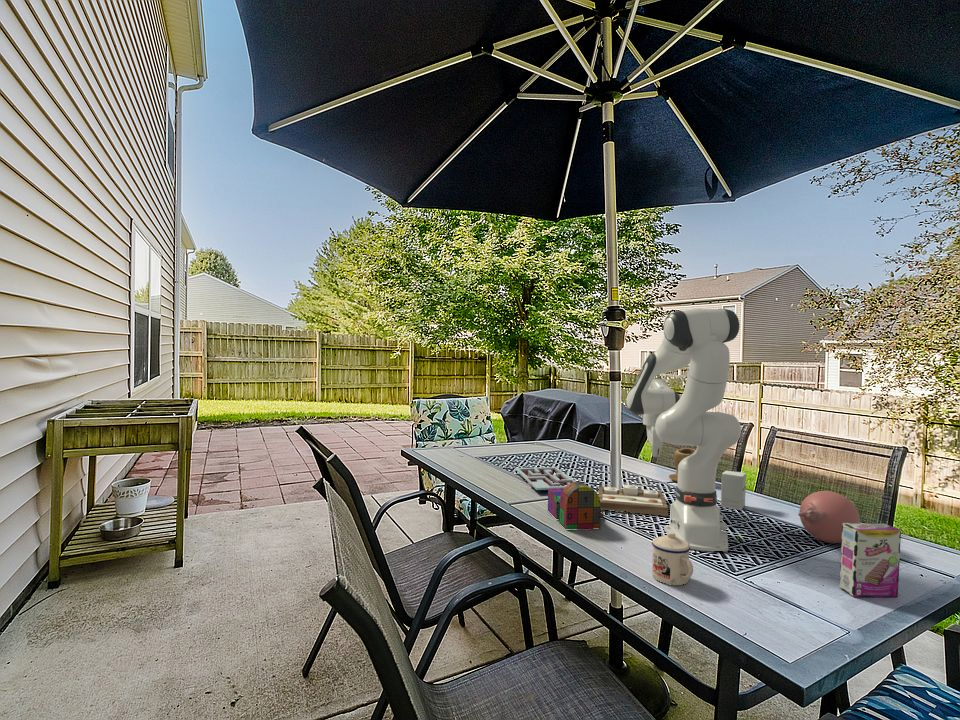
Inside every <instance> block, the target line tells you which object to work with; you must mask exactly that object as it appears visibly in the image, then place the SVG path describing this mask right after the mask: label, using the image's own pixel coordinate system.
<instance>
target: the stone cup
mask: <svg viewBox="0 0 960 720" xmlns="http://www.w3.org/2000/svg"><path fill="white" fill-rule="evenodd" d="M695 451H696V449H695V448H690V447H682V448H678V449H676V450H675V452H674V455H673V456H674V457H673V458H674V459H673V461H674V465H675V470H676V472H675V473H672V474H669V475H668V478H669V479H670V480H672V481H674V482H677V483H678V465H679V463H680V462H681V460H682V459H684V458H686V457H688V456H690V455H692V454H693V453H694V452H695Z"/></svg>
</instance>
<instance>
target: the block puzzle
mask: <svg viewBox="0 0 960 720" xmlns="http://www.w3.org/2000/svg"><path fill="white" fill-rule="evenodd" d="M548 511H549V512H550V513H551V514H552V515H553V516H554V517H555V518H556V519H559V525H560V524H561V525H562V526H563V527H564V528H565V529H588V530H594V529H593V528H600V529H601V519H600V518H603V517H604V514H603V512H602V511H600V498H599V493H597V492H596V491H595V490H594V489H593V488H592V487H590V486H589V485H587V484H586V483H584V482H580V481H576V482H573V483H570V484H568V485H567V486H566V487H565V488H561V489H548V491H547V512H548ZM549 512H548V513H549ZM550 513H549V514H550ZM551 514H550V515H551ZM552 515H551V516H552ZM604 518H605V517H604ZM604 518H603V519H604ZM561 525H560V526H561ZM562 526H561V527H562ZM563 527H562V528H563ZM564 528H563V529H564ZM565 529H564V530H565Z"/></svg>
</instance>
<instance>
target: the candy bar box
mask: <svg viewBox="0 0 960 720" xmlns="http://www.w3.org/2000/svg"><path fill="white" fill-rule="evenodd" d="M901 535H902V530H900V528H897V527H894V526H891V525H889V524H886V523H866V522H865V523H861V522H860V523H842V541H841V543H840V544H841V546H840V569H839V571H840V572H839V589H840V590H842V591H844V592H845V593H847V594H848V595H849V596H852V597H853V598H898V596H899V583H900V582H899V580H900V579H899V577H900V573H899V572H900V557H901V540H902V536H901Z"/></svg>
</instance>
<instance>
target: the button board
mask: <svg viewBox="0 0 960 720" xmlns="http://www.w3.org/2000/svg"><path fill="white" fill-rule="evenodd" d="M604 487H605V486H599V487H598V496H599V498H600V509H602V510H614V511H626V512H632V513H631V514H634V513H640V514H639V515H645V514H652V515H651V516H657V515H662V516H661V517H669V507H668V504H667V501H666V498H665V497H664V495H663V492H662V491H659V490H656V491H657V492H658V497H648V496H643V492H644V490H645V489H638V496H635V495H624V487H623V488H622V489H621V490H617V494H610V493H604Z"/></svg>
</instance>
